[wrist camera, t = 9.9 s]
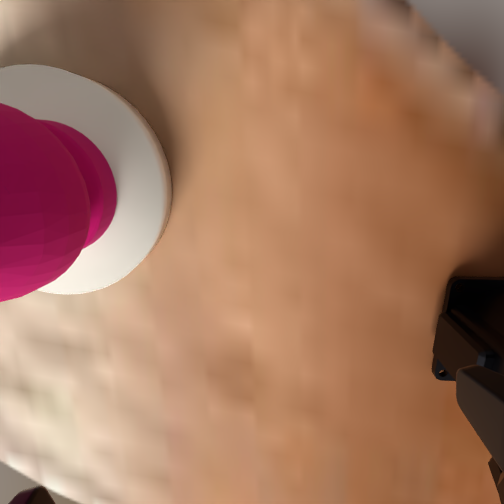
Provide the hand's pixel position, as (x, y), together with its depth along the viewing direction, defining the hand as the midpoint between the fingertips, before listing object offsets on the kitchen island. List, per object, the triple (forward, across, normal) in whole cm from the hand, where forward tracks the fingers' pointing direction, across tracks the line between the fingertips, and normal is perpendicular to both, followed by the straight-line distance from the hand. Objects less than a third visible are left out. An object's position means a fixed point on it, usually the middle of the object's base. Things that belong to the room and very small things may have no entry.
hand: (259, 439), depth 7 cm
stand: (+15, +7, -5) cm, 17 cm away
